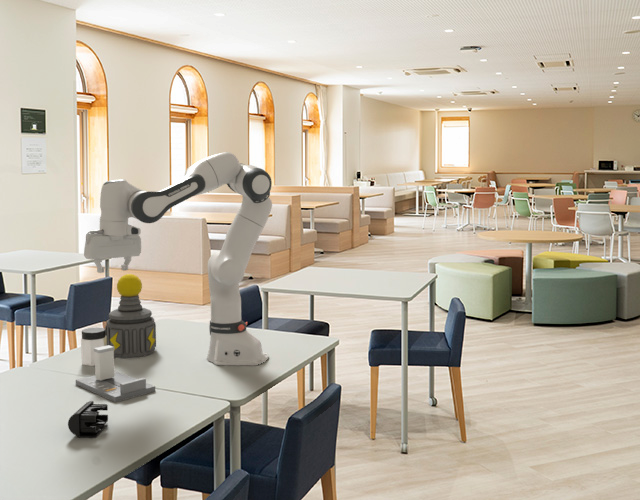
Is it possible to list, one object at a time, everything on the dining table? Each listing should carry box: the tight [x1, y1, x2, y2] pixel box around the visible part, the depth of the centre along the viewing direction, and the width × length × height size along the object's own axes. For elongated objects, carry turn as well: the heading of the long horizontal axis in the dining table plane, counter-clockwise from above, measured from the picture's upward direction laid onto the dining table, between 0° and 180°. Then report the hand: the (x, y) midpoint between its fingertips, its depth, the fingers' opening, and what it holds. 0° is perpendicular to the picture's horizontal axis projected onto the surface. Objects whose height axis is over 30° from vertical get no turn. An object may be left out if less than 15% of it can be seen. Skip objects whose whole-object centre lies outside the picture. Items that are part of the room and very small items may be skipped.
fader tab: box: [94, 345, 115, 380], centre depth 218 cm, size 3×5×10 cm, turn 137°
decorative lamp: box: [104, 273, 157, 359], centre depth 255 cm, size 19×19×30 cm
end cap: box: [67, 400, 109, 439], centre depth 180 cm, size 10×7×7 cm
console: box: [75, 370, 156, 403], centre depth 215 cm, size 24×14×5 cm, turn 47°
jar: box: [80, 327, 107, 367], centre depth 242 cm, size 9×8×12 cm
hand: (112, 271), depth 222 cm, fingers open, 8 cm apart
